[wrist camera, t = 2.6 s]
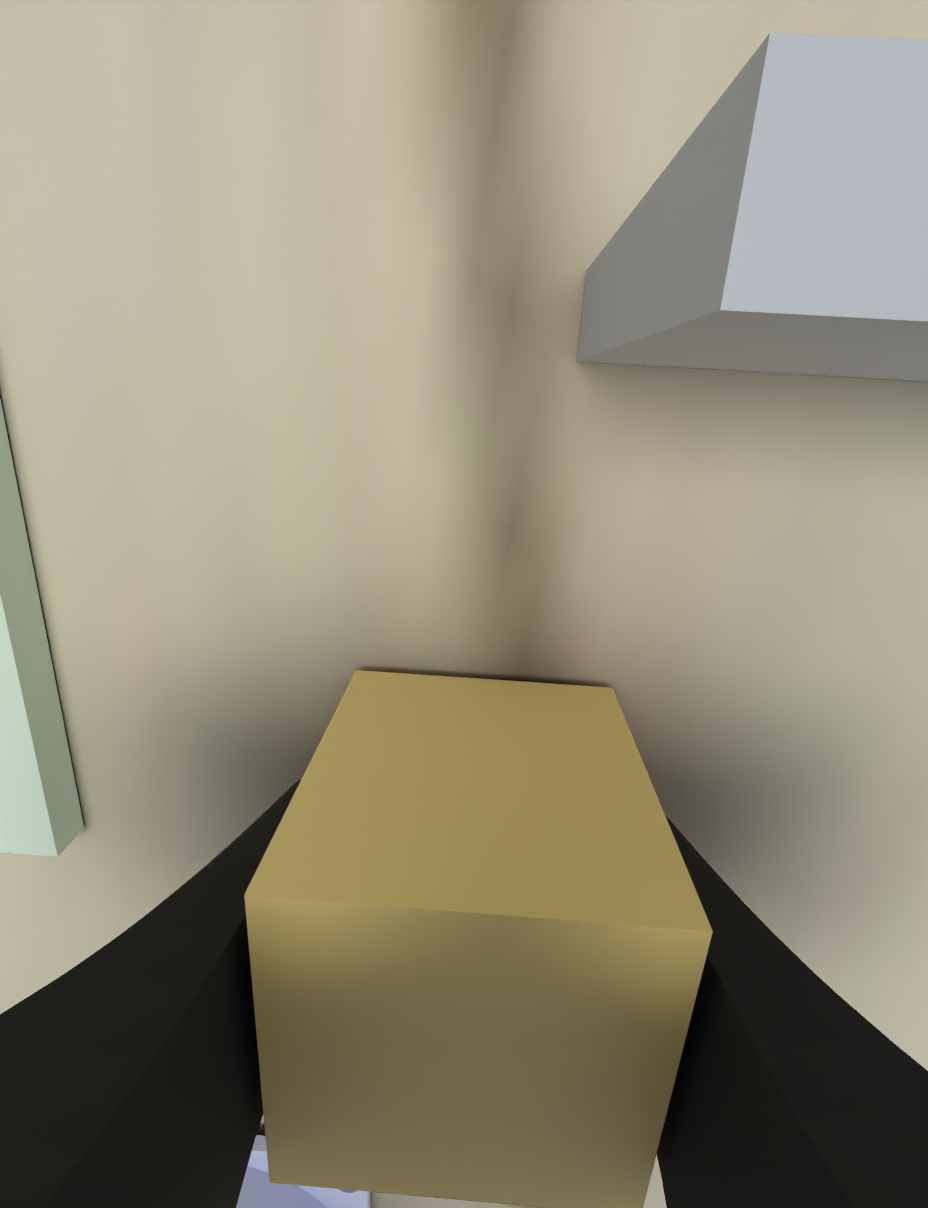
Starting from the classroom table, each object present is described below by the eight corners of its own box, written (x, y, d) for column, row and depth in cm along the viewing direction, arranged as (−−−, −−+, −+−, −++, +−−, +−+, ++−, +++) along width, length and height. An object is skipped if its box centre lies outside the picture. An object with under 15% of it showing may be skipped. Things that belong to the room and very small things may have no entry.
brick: (582, 890, 12) (640, 1215, 7) (357, 873, 12) (269, 1182, 7) (613, 688, 10) (712, 931, 6) (355, 670, 11) (243, 895, 6)
